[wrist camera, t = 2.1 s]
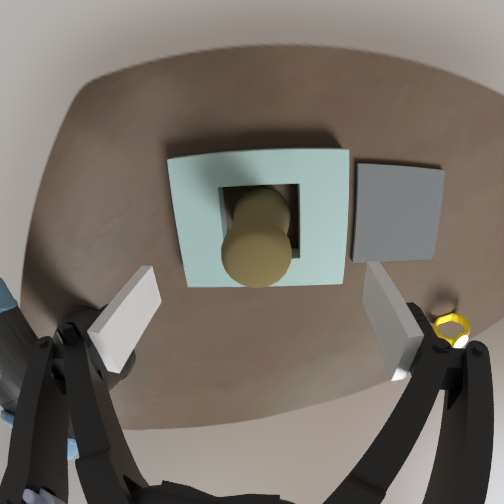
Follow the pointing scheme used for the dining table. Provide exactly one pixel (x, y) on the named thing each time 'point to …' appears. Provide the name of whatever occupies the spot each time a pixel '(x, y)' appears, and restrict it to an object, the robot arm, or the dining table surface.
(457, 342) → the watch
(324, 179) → the socket board
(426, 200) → the rubber mat
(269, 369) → the dining table surface
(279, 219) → the cork
